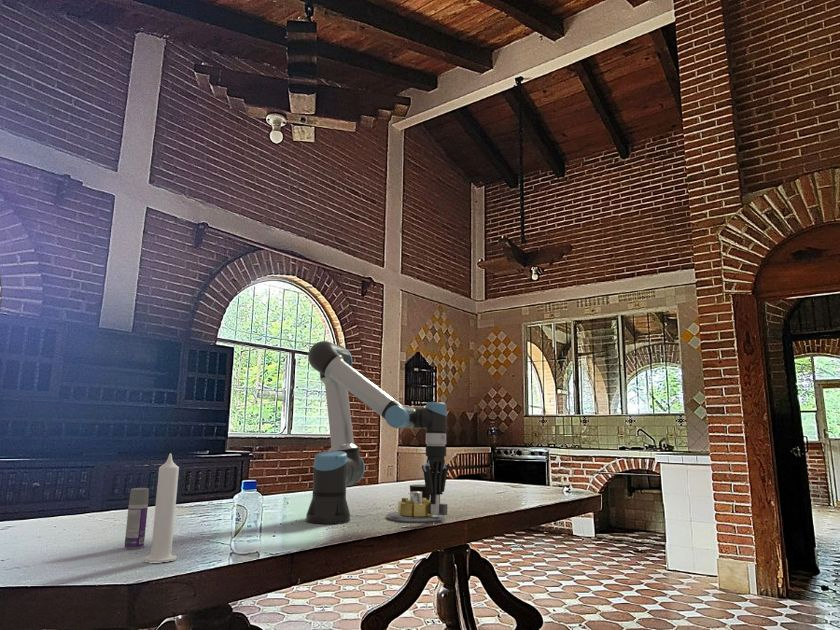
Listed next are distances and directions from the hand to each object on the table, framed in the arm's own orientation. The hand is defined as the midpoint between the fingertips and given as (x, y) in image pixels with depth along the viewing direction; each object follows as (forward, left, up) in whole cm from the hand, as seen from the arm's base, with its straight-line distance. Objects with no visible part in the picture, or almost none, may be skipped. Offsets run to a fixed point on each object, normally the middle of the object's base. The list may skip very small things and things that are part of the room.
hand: (434, 513), depth 209 cm
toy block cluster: (-4, +5, -1) cm, 7 cm away
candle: (-64, -72, -3) cm, 96 cm away
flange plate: (-7, +6, -3) cm, 10 cm away
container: (-78, -58, -3) cm, 97 cm away
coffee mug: (-6, +25, -3) cm, 26 cm away
